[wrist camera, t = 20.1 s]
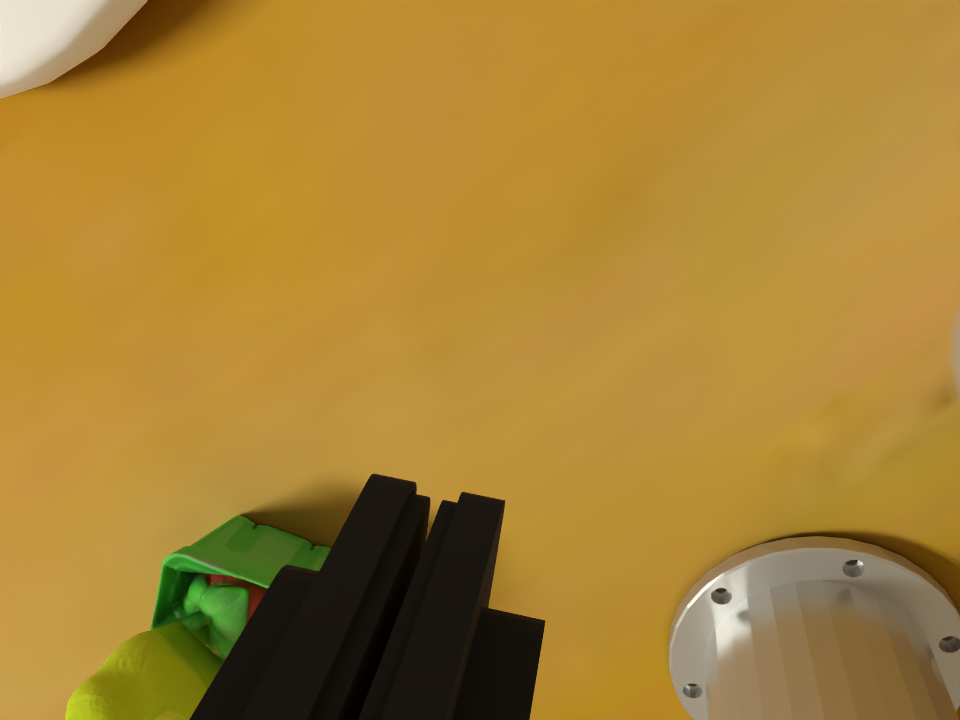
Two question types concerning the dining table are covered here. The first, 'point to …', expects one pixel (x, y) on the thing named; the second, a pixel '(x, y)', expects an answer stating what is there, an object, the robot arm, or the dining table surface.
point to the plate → (54, 37)
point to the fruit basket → (192, 623)
